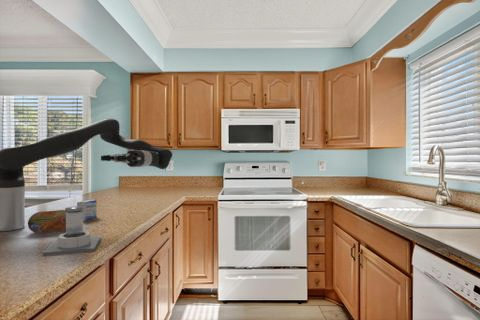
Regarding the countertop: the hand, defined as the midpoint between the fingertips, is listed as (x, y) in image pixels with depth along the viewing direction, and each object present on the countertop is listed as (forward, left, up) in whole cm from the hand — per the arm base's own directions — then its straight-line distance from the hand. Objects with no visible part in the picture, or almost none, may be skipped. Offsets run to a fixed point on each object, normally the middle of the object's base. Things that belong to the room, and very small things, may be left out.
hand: (109, 158), depth 112 cm
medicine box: (-13, +29, -30) cm, 43 cm away
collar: (-9, -16, -30) cm, 35 cm away
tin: (-22, +8, -30) cm, 38 cm away
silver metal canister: (-9, -16, -29) cm, 34 cm away
